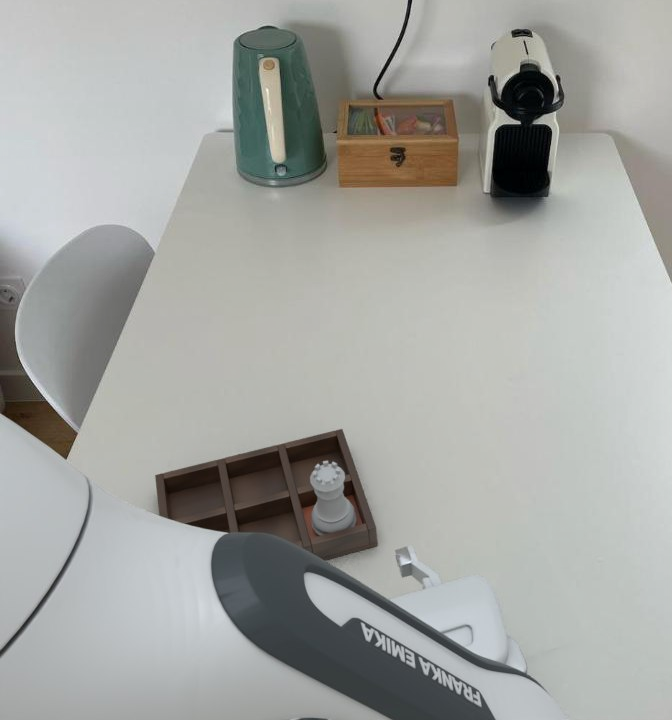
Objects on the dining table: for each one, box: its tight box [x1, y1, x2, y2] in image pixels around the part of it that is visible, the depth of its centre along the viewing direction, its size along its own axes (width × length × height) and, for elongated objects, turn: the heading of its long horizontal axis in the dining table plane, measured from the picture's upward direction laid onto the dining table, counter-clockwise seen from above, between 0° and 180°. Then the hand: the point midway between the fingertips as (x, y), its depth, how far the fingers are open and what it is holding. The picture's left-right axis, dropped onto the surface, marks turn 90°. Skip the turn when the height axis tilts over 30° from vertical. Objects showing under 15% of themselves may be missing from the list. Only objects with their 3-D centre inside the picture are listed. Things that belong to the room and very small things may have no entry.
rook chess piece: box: [310, 461, 357, 536], centre depth 78 cm, size 4×4×8 cm
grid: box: [154, 428, 379, 561], centre depth 81 cm, size 20×13×3 cm
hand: (347, 566), depth 65 cm, fingers open, 8 cm apart
